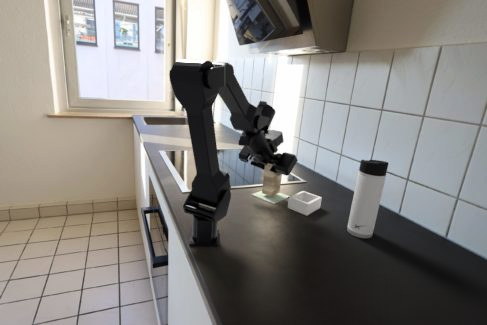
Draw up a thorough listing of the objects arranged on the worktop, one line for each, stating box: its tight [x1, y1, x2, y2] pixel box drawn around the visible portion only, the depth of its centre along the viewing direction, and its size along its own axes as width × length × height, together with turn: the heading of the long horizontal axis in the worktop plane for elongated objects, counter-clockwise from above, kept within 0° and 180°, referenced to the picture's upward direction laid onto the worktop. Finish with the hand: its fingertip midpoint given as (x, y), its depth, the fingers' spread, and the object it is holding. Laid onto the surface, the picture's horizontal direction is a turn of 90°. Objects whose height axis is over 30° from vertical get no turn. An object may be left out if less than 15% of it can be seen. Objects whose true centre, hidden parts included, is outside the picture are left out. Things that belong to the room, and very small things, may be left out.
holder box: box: [287, 190, 323, 216], centre depth 87 cm, size 8×7×4 cm
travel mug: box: [346, 159, 389, 239], centre depth 72 cm, size 6×7×20 cm
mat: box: [250, 190, 291, 205], centre depth 94 cm, size 9×9×1 cm
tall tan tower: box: [261, 164, 283, 196], centre depth 92 cm, size 5×4×12 cm
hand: (275, 172), depth 93 cm, fingers closed on tall tan tower, 3 cm apart
